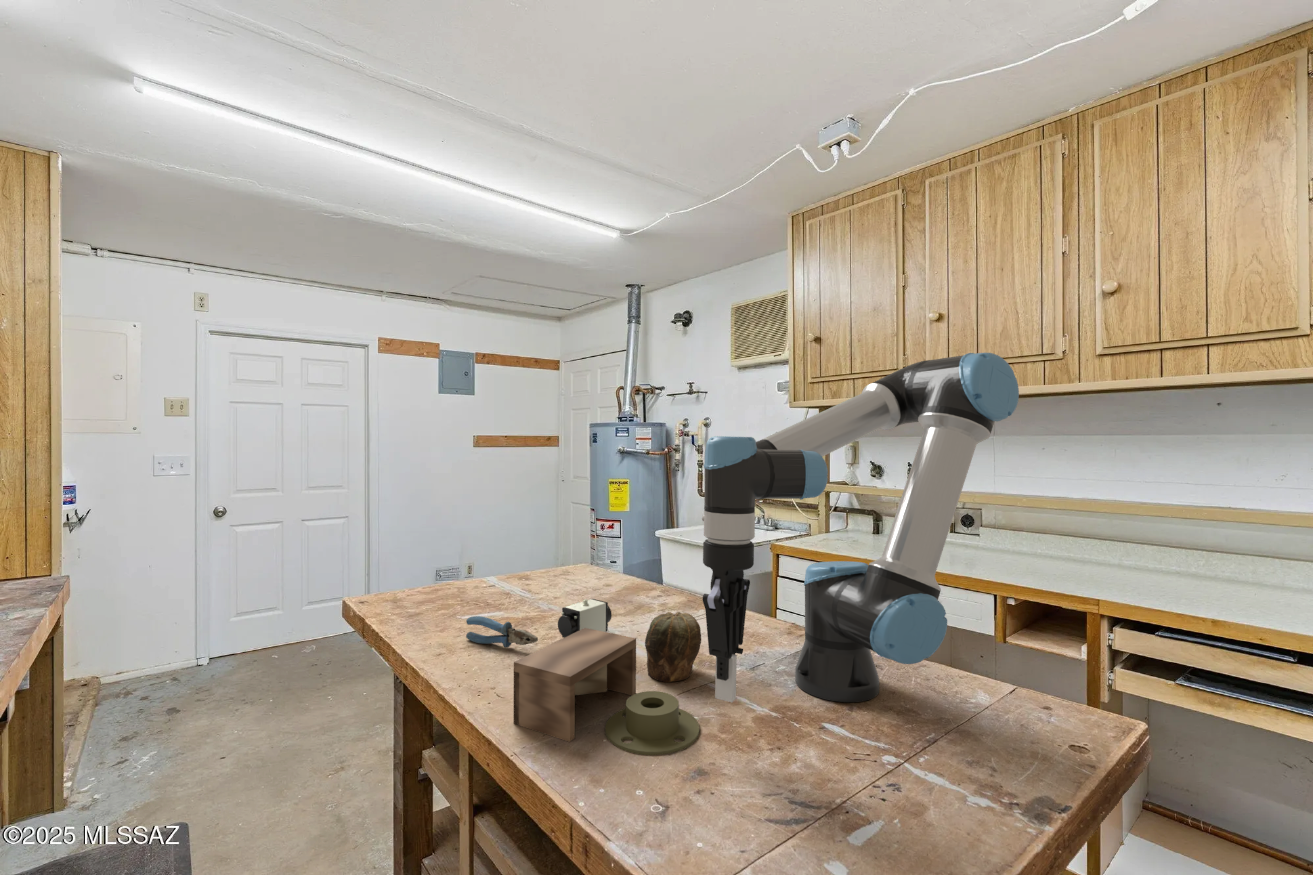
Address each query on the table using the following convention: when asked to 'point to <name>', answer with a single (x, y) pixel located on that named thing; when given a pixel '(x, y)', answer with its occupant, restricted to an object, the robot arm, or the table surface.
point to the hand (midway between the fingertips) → (725, 698)
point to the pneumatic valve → (584, 617)
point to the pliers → (508, 632)
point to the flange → (652, 725)
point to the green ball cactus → (672, 646)
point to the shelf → (570, 678)
